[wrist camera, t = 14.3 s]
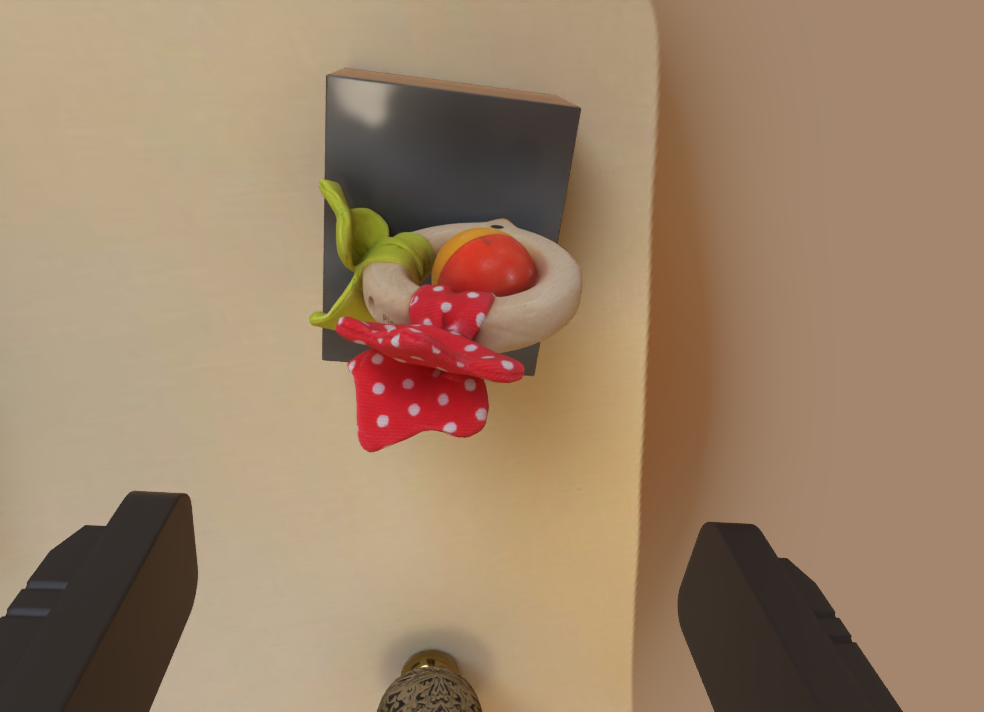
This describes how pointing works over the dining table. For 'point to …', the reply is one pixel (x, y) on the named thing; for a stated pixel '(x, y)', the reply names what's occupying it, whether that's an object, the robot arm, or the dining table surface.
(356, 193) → the block
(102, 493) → the dining table surface
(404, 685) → the cup
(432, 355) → the teething ring toy
